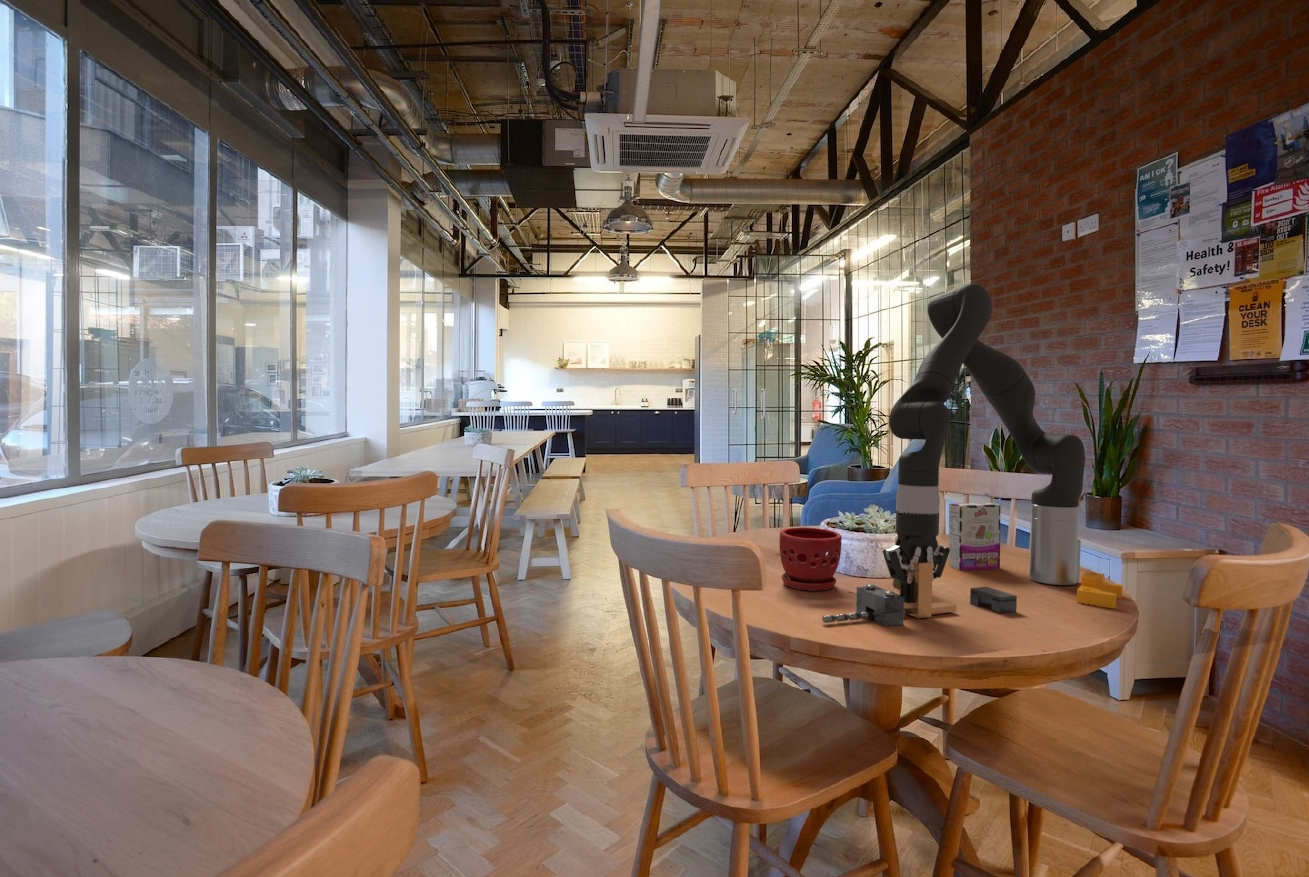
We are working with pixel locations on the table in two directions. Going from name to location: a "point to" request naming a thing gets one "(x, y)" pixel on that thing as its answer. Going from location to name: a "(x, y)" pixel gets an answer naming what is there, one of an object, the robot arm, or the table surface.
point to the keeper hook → (993, 599)
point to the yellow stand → (1098, 591)
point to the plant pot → (809, 557)
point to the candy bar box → (974, 536)
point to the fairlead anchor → (881, 604)
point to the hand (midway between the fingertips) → (915, 601)
